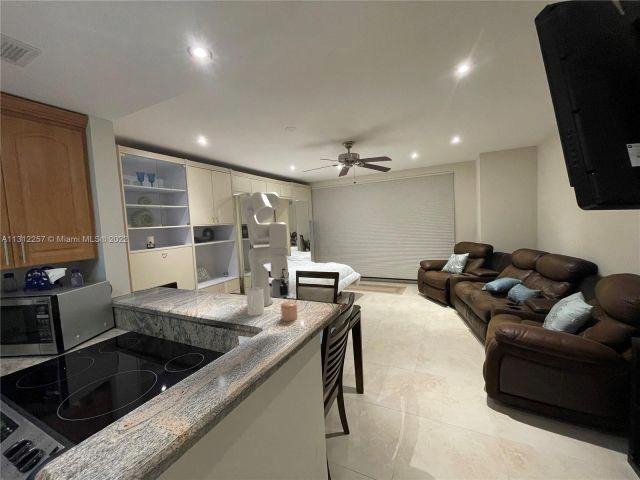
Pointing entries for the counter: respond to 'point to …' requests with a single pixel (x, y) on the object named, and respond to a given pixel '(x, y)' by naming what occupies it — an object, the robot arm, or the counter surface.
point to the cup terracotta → (289, 311)
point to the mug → (255, 301)
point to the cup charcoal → (278, 289)
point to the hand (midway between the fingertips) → (280, 292)
